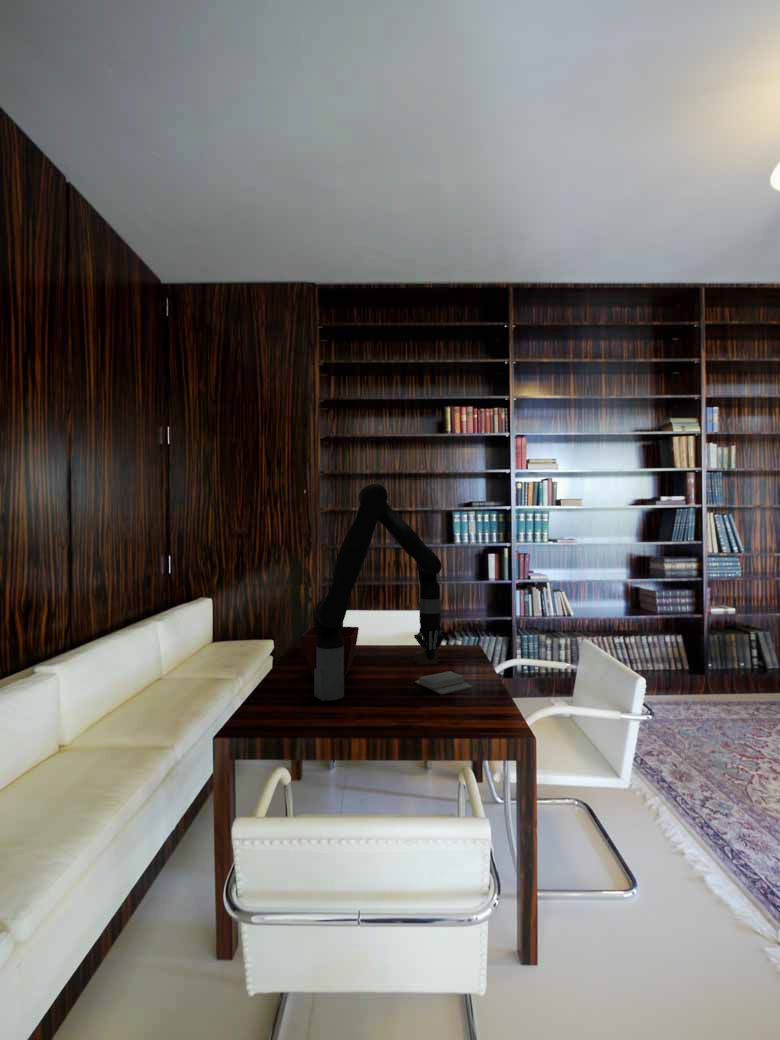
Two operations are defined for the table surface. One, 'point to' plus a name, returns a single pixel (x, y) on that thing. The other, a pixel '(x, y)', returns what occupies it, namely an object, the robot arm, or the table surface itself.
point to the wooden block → (421, 657)
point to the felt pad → (450, 688)
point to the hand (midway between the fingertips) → (430, 659)
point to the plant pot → (311, 648)
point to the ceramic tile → (441, 680)
